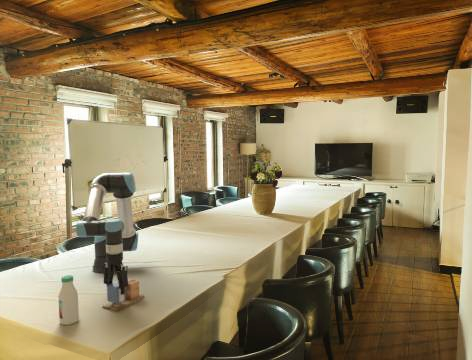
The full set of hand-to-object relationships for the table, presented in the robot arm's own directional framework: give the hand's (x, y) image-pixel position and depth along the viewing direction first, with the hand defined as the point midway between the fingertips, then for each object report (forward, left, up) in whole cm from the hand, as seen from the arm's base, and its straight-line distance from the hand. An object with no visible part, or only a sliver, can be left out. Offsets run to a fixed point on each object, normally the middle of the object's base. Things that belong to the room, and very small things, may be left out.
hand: (116, 299), depth 170 cm
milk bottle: (-8, -20, -4) cm, 22 cm away
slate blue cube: (0, 0, 0) cm, 0 cm away
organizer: (0, +5, -3) cm, 6 cm away
